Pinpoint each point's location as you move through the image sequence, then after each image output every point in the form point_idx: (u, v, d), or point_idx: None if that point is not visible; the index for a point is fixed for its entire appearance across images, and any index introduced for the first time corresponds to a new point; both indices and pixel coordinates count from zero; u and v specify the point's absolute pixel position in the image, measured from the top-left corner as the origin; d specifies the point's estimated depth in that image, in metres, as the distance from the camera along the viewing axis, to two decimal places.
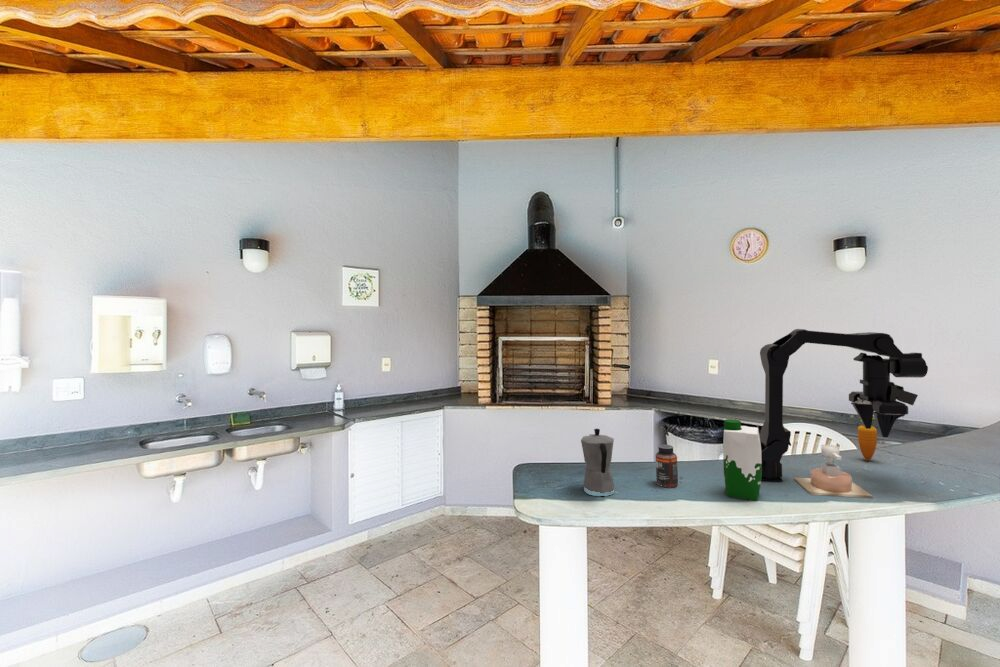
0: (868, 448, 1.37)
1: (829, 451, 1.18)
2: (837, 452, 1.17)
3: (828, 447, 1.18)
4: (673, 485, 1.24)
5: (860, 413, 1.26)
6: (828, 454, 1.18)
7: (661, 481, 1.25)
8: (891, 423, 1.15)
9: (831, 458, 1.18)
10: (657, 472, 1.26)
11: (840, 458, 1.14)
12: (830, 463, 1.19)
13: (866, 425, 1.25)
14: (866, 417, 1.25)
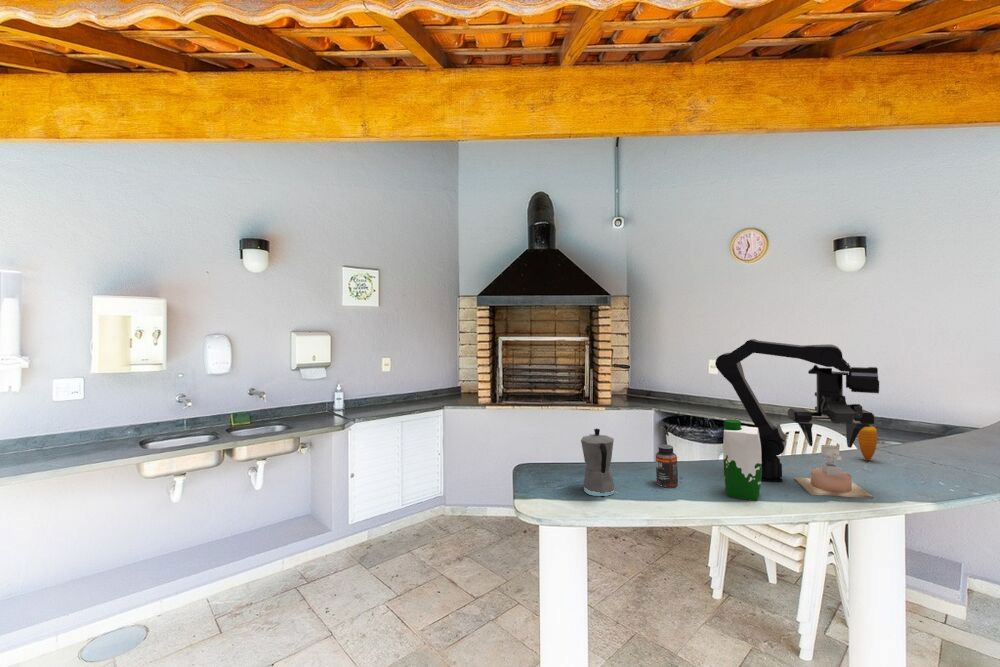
0: (868, 448, 1.37)
1: (829, 451, 1.18)
2: (837, 452, 1.17)
3: (828, 447, 1.18)
4: (673, 485, 1.24)
5: (846, 430, 1.19)
6: (828, 454, 1.18)
7: (661, 481, 1.25)
8: None
9: (831, 458, 1.18)
10: (657, 472, 1.26)
11: (840, 458, 1.14)
12: (830, 463, 1.19)
13: (847, 443, 1.18)
14: (848, 435, 1.18)
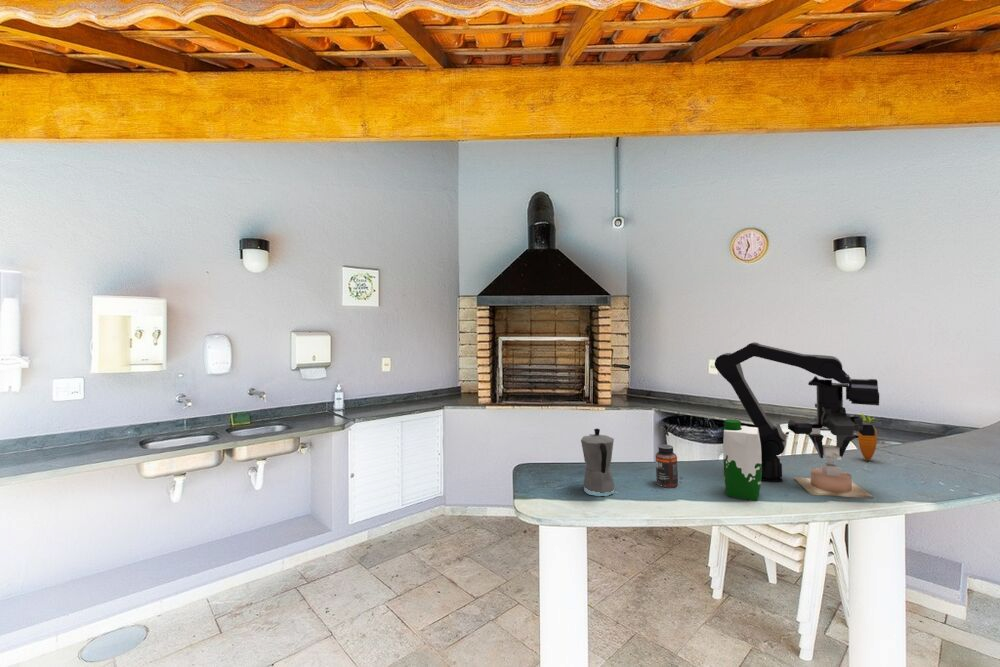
0: (868, 448, 1.37)
1: (829, 451, 1.18)
2: (837, 452, 1.17)
3: (828, 447, 1.18)
4: (673, 485, 1.24)
5: None
6: (828, 454, 1.18)
7: (661, 481, 1.25)
8: (816, 443, 1.19)
9: (831, 458, 1.18)
10: (657, 472, 1.26)
11: (840, 458, 1.14)
12: (830, 463, 1.19)
13: None
14: (838, 446, 1.19)
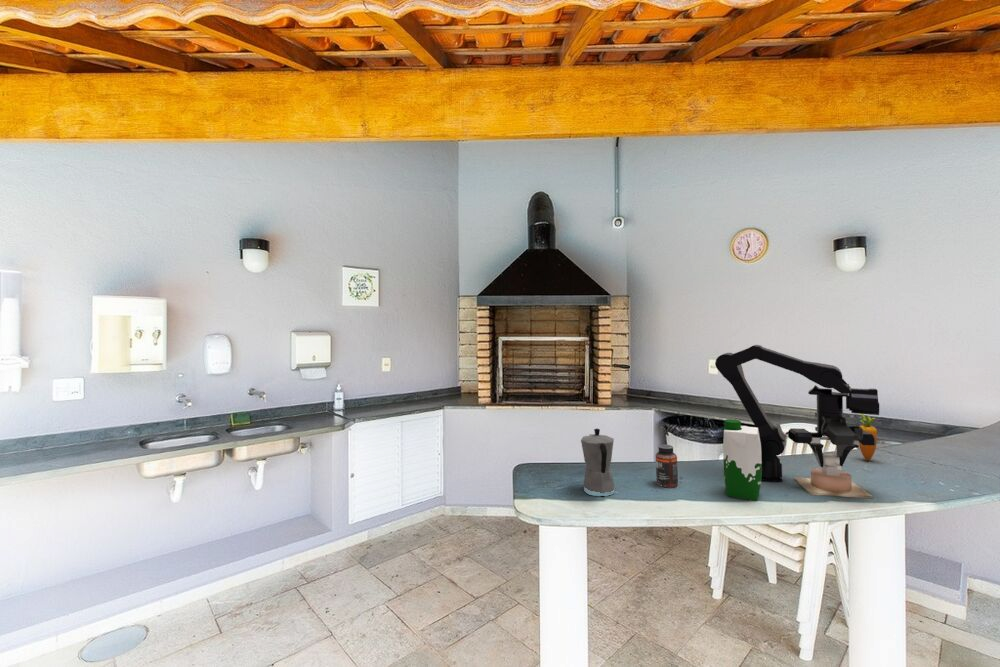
0: (868, 448, 1.37)
1: (829, 461, 1.18)
2: (837, 461, 1.17)
3: (828, 456, 1.18)
4: (673, 485, 1.24)
5: (837, 450, 1.20)
6: (828, 463, 1.18)
7: (661, 481, 1.25)
8: (816, 453, 1.19)
9: None
10: (657, 472, 1.26)
11: (840, 468, 1.14)
12: None
13: None
14: (839, 455, 1.19)
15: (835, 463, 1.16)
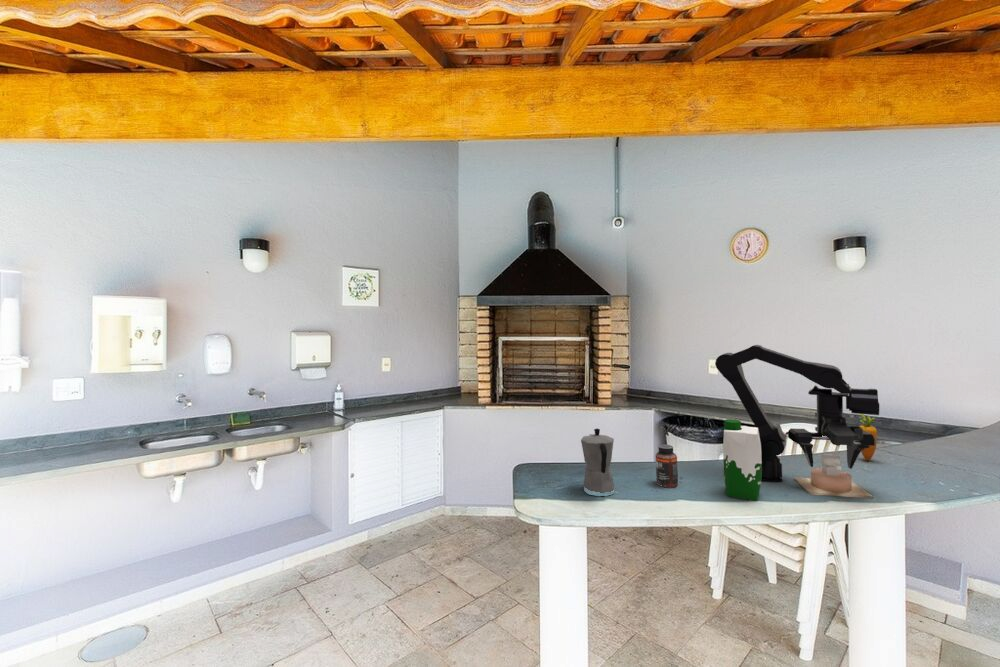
0: (868, 448, 1.37)
1: (829, 461, 1.18)
2: (837, 461, 1.17)
3: (828, 456, 1.18)
4: (673, 485, 1.24)
5: (847, 450, 1.19)
6: (828, 463, 1.18)
7: (661, 481, 1.25)
8: None
9: None
10: (657, 472, 1.26)
11: (840, 468, 1.14)
12: None
13: (848, 464, 1.18)
14: (849, 456, 1.18)
15: (835, 463, 1.16)
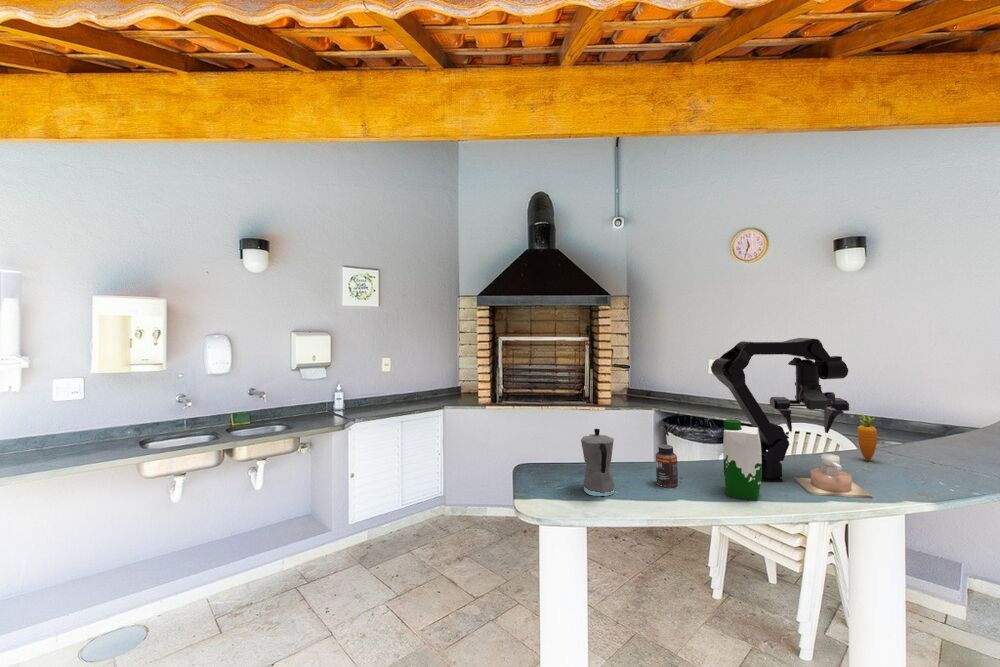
0: (868, 448, 1.37)
1: (829, 461, 1.18)
2: (837, 461, 1.17)
3: (828, 456, 1.18)
4: (673, 485, 1.24)
5: (824, 417, 1.29)
6: (828, 463, 1.18)
7: (661, 481, 1.25)
8: None
9: None
10: (657, 472, 1.26)
11: (840, 468, 1.14)
12: None
13: (825, 429, 1.28)
14: (825, 421, 1.28)
15: (835, 463, 1.16)
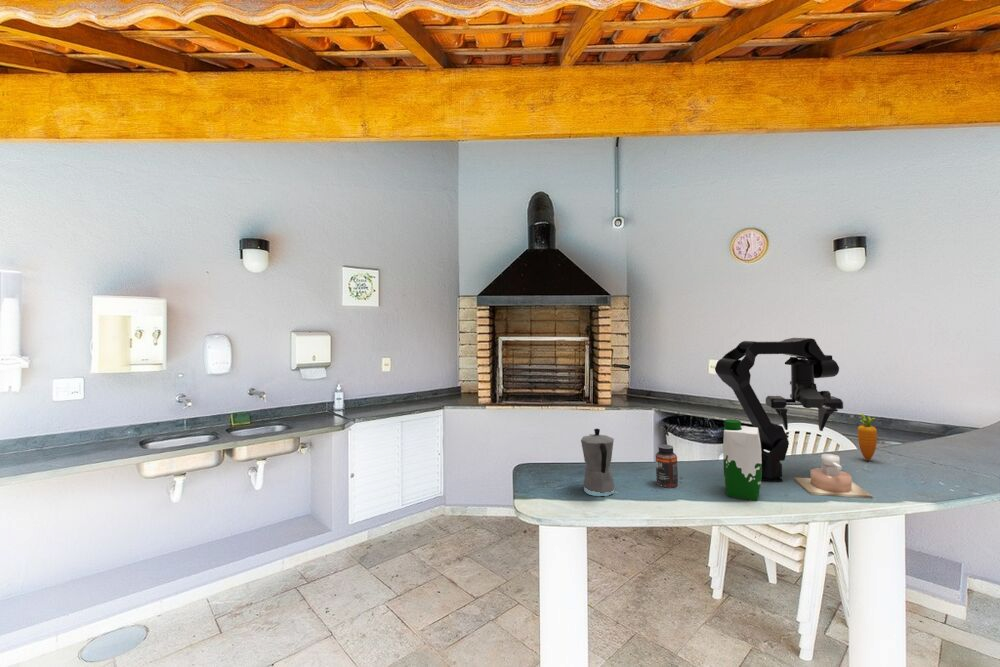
0: (868, 448, 1.37)
1: (829, 461, 1.18)
2: (837, 461, 1.17)
3: (828, 456, 1.18)
4: (673, 485, 1.24)
5: (818, 415, 1.31)
6: (828, 463, 1.18)
7: (661, 481, 1.25)
8: None
9: None
10: (657, 472, 1.26)
11: (840, 468, 1.14)
12: None
13: (819, 427, 1.30)
14: (820, 419, 1.30)
15: (835, 463, 1.16)
